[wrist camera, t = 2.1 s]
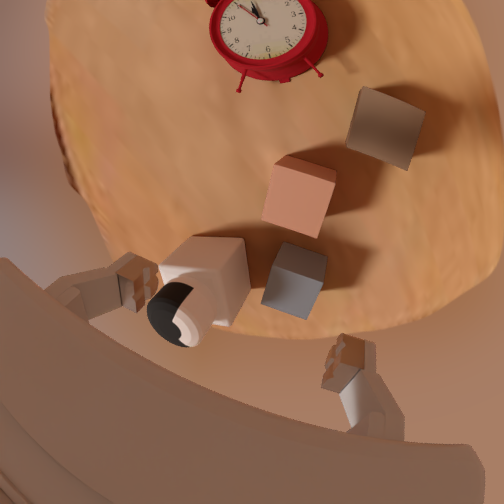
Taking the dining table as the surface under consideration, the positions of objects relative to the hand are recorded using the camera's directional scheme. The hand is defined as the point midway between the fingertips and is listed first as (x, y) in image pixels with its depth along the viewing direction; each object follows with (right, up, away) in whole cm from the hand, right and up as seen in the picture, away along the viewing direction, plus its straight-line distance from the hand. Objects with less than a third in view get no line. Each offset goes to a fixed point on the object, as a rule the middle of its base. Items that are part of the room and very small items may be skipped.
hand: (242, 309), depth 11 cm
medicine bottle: (-3, +1, +22) cm, 23 cm away
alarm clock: (+2, +24, +8) cm, 25 cm away
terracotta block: (+6, +9, +15) cm, 18 cm away
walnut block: (+12, +14, +10) cm, 20 cm away
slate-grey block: (+6, +1, +19) cm, 20 cm away
